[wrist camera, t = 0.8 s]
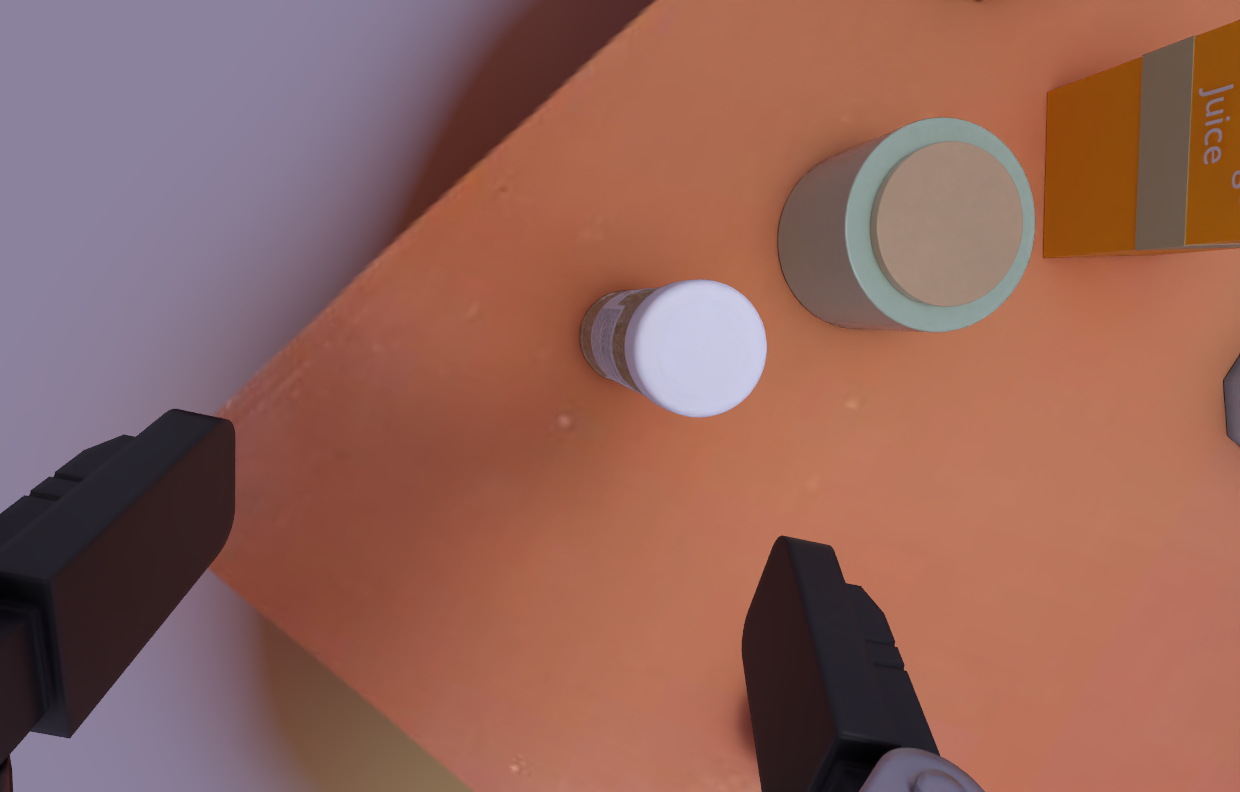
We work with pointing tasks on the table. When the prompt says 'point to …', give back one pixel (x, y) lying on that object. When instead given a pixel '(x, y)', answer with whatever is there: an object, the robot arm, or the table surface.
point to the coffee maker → (1233, 402)
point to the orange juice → (1148, 154)
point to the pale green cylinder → (910, 230)
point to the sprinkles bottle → (678, 345)
